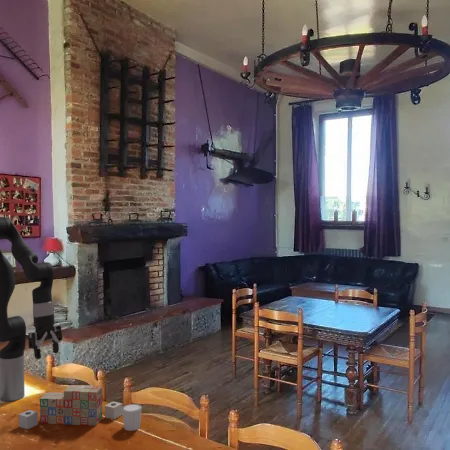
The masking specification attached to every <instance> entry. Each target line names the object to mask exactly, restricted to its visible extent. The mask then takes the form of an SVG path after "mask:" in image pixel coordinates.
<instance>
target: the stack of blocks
mask: <svg viewBox="0 0 450 450" xmlns="http://www.w3.org/2000/svg"><path fill="white" fill-rule="evenodd" d="M39 415H40V416H39V417H40V418H39V423H40V424H49V425H74V426H77V425H78V426H98V424H99V423H100V422H101V421H102V420H103V386H101V385H94V384H93V385H91V384H90V385H89V384H88V385H81V384H80V385H79V384H77V385H76V384H75V385H74V384H73V385H72V384H70V385H68V387H67V388H66V389H64V390H63V392H51V391H50V392H46V393H45V394H44V395H43V396H41V397H40V398H39Z"/></svg>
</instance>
